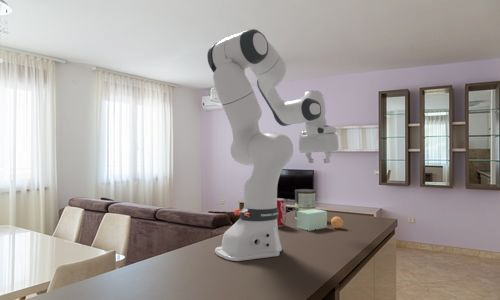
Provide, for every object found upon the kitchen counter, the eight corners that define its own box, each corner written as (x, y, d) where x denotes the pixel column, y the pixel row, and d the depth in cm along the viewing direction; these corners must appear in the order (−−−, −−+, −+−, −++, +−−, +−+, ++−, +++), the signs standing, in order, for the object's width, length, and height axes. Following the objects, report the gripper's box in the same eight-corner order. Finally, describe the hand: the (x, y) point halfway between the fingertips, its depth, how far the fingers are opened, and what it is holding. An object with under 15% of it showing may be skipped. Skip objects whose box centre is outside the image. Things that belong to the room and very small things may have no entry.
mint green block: (308, 230, 142) (308, 213, 142) (296, 227, 148) (296, 211, 148) (326, 227, 148) (326, 211, 148) (314, 224, 154) (314, 209, 154)
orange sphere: (337, 230, 143) (337, 218, 143) (328, 227, 147) (328, 216, 147) (345, 228, 146) (345, 217, 146) (336, 226, 150) (336, 215, 150)
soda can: (285, 224, 155) (285, 198, 155) (286, 227, 148) (285, 200, 148) (270, 224, 156) (270, 197, 156) (269, 227, 149) (269, 199, 149)
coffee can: (290, 218, 170) (290, 189, 170) (304, 215, 176) (304, 188, 176) (306, 221, 162) (306, 191, 162) (320, 218, 168) (320, 190, 168)
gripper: (294, 132, 150) (296, 163, 150) (328, 128, 133) (331, 163, 133) (305, 131, 153) (307, 162, 154) (339, 127, 136) (342, 162, 136)
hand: (318, 163), depth 143 cm, fingers open, 8 cm apart
